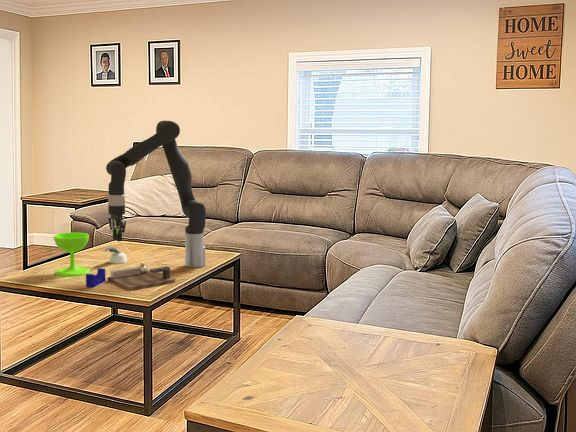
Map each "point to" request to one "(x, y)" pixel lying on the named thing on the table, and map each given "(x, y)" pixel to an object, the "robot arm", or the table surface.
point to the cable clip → (95, 278)
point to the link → (129, 271)
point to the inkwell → (116, 255)
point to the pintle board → (144, 279)
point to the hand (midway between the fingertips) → (117, 240)
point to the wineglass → (71, 252)
